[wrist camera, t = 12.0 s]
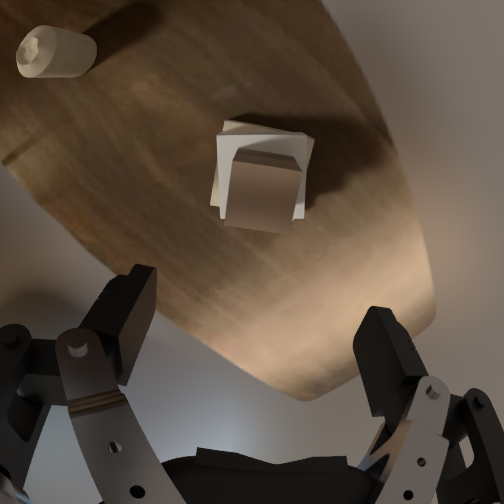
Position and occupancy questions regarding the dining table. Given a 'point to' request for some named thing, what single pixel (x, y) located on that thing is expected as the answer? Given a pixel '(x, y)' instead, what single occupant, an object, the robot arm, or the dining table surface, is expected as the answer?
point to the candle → (55, 53)
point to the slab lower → (248, 127)
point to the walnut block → (262, 191)
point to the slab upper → (264, 142)
